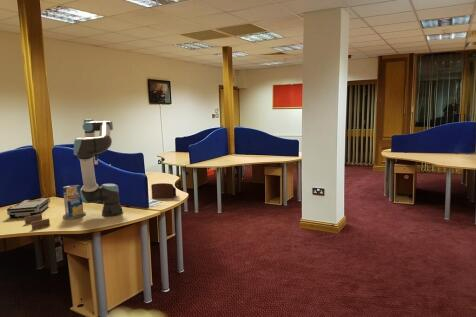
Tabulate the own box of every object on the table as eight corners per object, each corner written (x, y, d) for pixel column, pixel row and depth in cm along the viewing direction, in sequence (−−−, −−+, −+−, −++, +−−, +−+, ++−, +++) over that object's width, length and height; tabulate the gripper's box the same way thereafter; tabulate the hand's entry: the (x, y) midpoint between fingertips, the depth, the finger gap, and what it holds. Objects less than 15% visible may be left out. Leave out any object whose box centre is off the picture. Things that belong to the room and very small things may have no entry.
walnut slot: (50, 225, 249) (49, 218, 248) (32, 229, 241) (31, 222, 240) (41, 220, 262) (41, 213, 261) (25, 224, 254) (24, 217, 253)
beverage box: (65, 215, 268) (62, 187, 265) (80, 211, 276) (77, 184, 273) (68, 216, 264) (65, 188, 261) (83, 213, 271) (81, 185, 268)
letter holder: (173, 198, 314) (172, 183, 312) (151, 199, 315) (150, 183, 313) (176, 196, 323) (175, 181, 321) (155, 196, 325) (154, 181, 323)
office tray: (50, 206, 303) (49, 196, 301) (38, 217, 272) (36, 206, 270) (24, 208, 298) (23, 199, 297) (8, 219, 267) (6, 209, 266)
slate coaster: (89, 215, 270) (89, 213, 270) (67, 220, 259) (67, 219, 259) (81, 211, 281) (80, 210, 281) (59, 216, 270) (59, 214, 270)
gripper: (79, 137, 295) (81, 162, 298) (92, 139, 277) (94, 165, 281) (88, 136, 300) (90, 161, 303) (101, 138, 283) (103, 164, 286)
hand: (92, 163), depth 292 cm, fingers open, 13 cm apart
